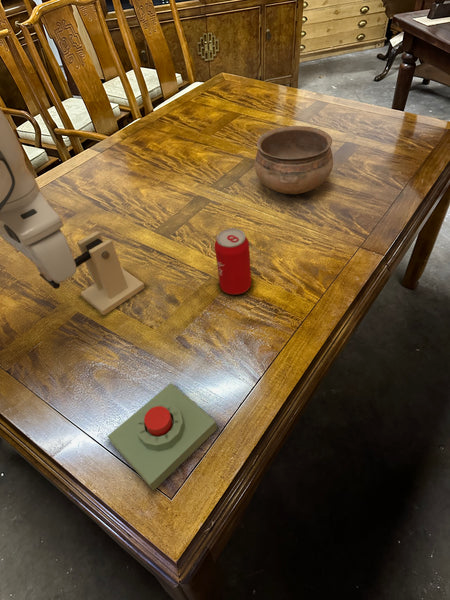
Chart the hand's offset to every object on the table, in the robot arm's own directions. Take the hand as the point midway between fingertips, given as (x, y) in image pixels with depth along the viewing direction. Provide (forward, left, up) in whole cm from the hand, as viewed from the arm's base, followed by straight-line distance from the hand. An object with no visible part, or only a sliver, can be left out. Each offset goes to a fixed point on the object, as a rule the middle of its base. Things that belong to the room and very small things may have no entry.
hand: (49, 276), depth 72 cm
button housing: (-3, -32, -11) cm, 34 cm away
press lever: (+5, 0, -2) cm, 5 cm away
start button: (-3, -32, -8) cm, 33 cm away
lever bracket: (+10, 0, -11) cm, 15 cm away
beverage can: (+27, -18, -11) cm, 34 cm away
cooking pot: (+63, -4, -11) cm, 64 cm away
